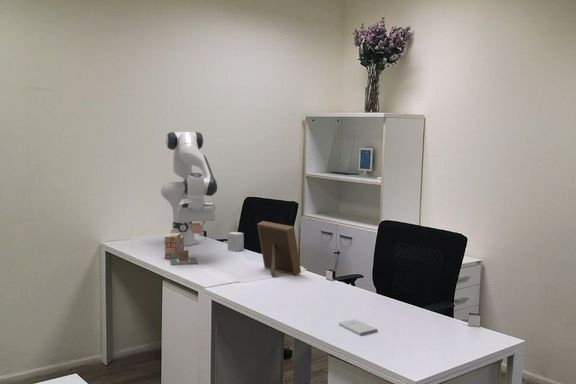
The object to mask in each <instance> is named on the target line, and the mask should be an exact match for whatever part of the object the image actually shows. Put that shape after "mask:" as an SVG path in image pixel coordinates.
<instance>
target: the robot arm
mask: <svg viewBox="0 0 576 384" xmlns="http://www.w3.org/2000/svg"><path fill="white" fill-rule="evenodd" d="M165 144H166V147H167V148H168V149H169V150H171V151H172V150H173V163H172V164H173V168H172V170H173V172H174V174H175V175H176V176H178V177H180V178H182V181H169V182H164V183H163V184H162V185H161V188H160V194H161V196H162V197H163V199H165V200H166V201H167V202H168V203H169V204H170V206H171V207H172V217H173V219H172V220H173V221H172V229H171V230H170V232H169V233H180V235H181V236H184V247H185V246H192V245H195V244H196V245H197V244H198V243H199V242H198V241H197V240H196V239H195V238H196V237H195V234H196V233H192V232H191V229H192V226H191V223H193V222H201V224H200V225H201V230H203V229H204V226H205V224H206V222H213V221H215V219H216V216H215V215H216V214H215V211H216V205H215V204H213V203H205V196H206V197H209V196H210V197H212V196H214V195H215V194H216V193H217V191H218V183H217V181H216V178H215V177H214V173H213V172H212V170H211V169H212V168H211V166H210V164H209V162H208V159H207V157H206V155H204V154H203V153H201V151H200V149H201V148H203V145H204V137H203V135H202V132H201V133H200V132H197V131H194V132H193V131H171V132H168V134H166V137H165ZM193 166H194V167H197V168H199V170H201V172H202V173H200V172H193ZM182 200H183V201H182Z"/></svg>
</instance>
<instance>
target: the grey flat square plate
mask: <svg viewBox="0 0 576 384" xmlns="http://www.w3.org/2000/svg"><path fill="white" fill-rule="evenodd" d="M169 263H170V266H183V265H184V266H185V265H189V266H190V265H199V263H198V259H197V258H196V257H195V256H190V257H189V261H182V262H179V257H177V258H169Z"/></svg>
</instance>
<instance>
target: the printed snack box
mask: <svg viewBox="0 0 576 384" xmlns="http://www.w3.org/2000/svg"><path fill="white" fill-rule="evenodd" d="M179 250H185V246H184V236H181V235H180V233H170V232H169V233H168V234H166V235H165V236H164V258H165V259H170V258H179Z"/></svg>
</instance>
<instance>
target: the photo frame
mask: <svg viewBox="0 0 576 384" xmlns="http://www.w3.org/2000/svg"><path fill="white" fill-rule="evenodd" d="M256 226H257V231H258V238H259V242H260V249H261V254H262V255H261V256H262V259H263V261H262V262H263V266H264V267H263V268H265V269H269V270H270V276H271V277H272V278H274V276H275V271H277V272H279V273H284V274H288V275H292V276H298V274H300V273H302V271H301V263H300V257H299V250H298V244H297V237H296V232H295V231H296V230H295V226H293V225H287V224H282V223H278V222H277V223H275V222H271V221H266V220H262V221H260V222H258V223H257V224H256Z"/></svg>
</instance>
